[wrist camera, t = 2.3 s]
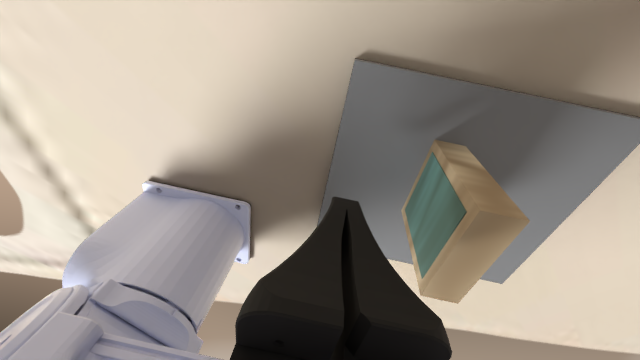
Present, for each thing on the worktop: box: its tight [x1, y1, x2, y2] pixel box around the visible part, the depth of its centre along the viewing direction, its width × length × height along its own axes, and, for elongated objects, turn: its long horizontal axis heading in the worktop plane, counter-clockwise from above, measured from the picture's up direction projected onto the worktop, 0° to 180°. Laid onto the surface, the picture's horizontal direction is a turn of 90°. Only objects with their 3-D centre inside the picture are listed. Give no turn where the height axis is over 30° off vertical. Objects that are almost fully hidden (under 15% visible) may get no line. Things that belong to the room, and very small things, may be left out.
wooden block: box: [401, 140, 530, 304], centre depth 14 cm, size 2×6×7 cm, turn 170°
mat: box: [317, 58, 640, 284], centre depth 18 cm, size 17×15×1 cm
